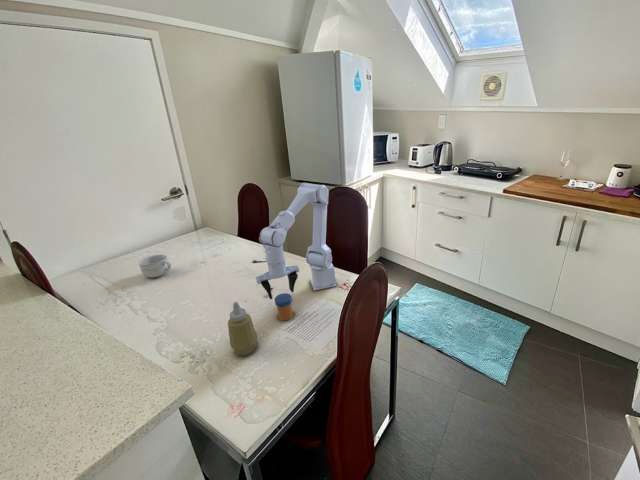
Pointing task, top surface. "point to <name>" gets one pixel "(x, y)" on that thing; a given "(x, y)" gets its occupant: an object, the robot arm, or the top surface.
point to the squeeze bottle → (241, 331)
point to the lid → (283, 300)
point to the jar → (285, 312)
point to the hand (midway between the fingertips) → (281, 294)
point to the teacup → (154, 265)
